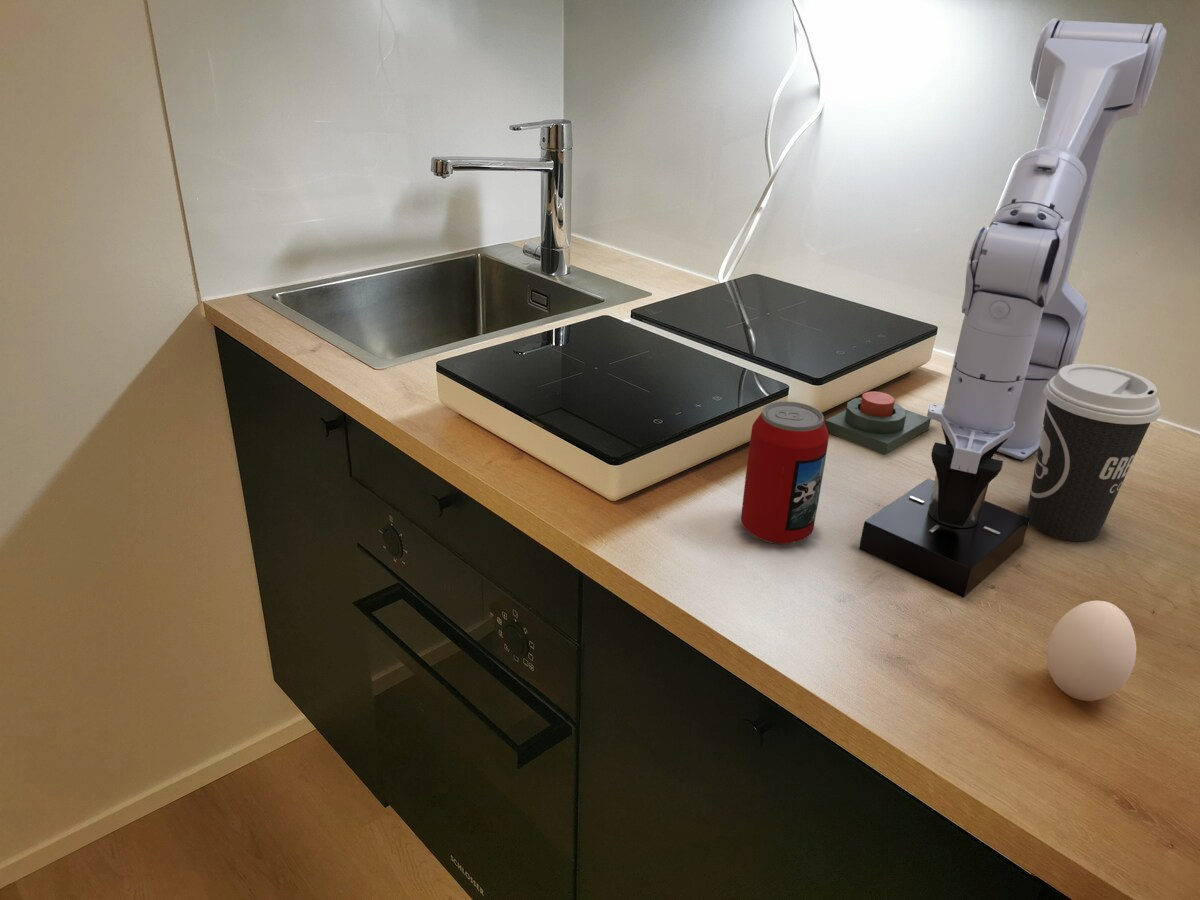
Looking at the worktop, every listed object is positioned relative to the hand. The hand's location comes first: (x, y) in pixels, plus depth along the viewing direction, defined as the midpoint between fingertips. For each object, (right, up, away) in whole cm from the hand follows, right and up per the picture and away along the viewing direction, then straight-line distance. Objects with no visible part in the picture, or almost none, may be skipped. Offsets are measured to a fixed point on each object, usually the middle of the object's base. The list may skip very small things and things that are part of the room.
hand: (954, 508), depth 82 cm
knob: (0, -1, 0) cm, 1 cm away
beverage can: (-16, -2, +3) cm, 16 cm away
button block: (0, +8, +23) cm, 24 cm away
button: (-1, +10, +21) cm, 23 cm away
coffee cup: (+13, -2, +6) cm, 14 cm away
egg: (+3, -13, -16) cm, 20 cm away
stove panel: (-1, -4, +1) cm, 4 cm away
